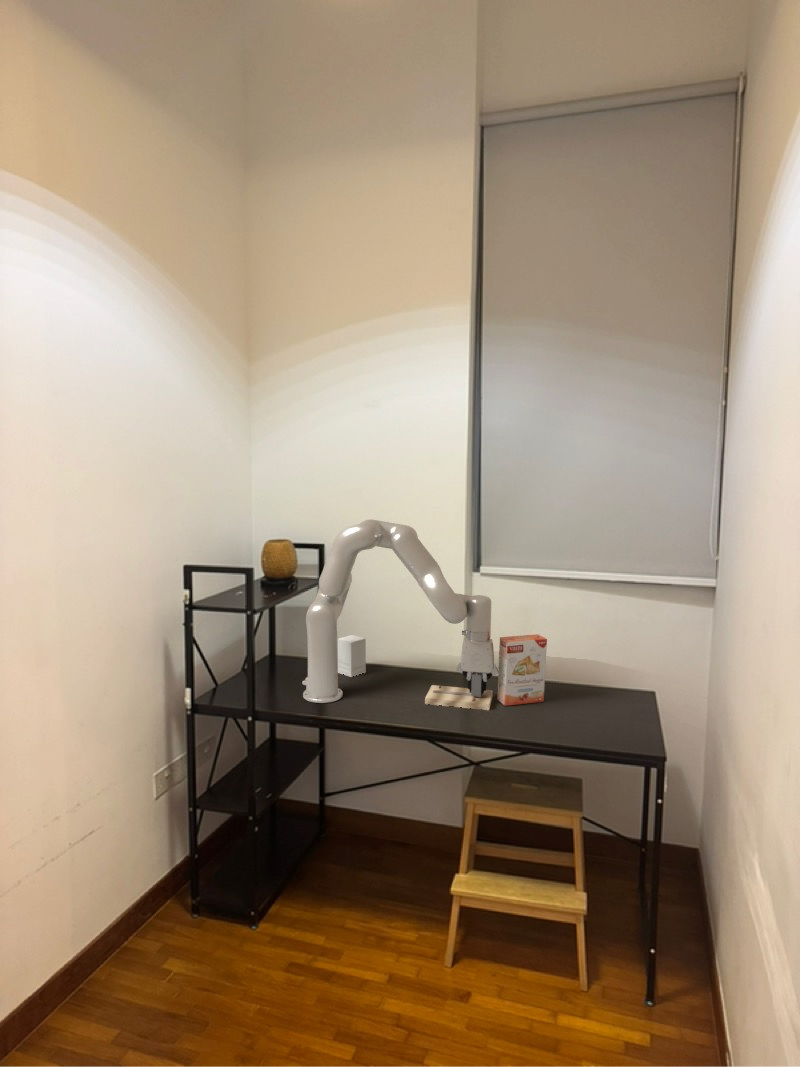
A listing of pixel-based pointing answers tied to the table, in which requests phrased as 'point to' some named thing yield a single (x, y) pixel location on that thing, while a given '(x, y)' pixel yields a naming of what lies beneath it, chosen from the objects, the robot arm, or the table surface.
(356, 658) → the supplement box
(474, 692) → the fader tab
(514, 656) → the cracker box
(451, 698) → the board
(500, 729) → the table surface
